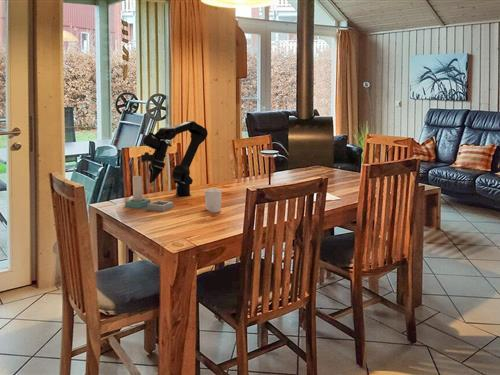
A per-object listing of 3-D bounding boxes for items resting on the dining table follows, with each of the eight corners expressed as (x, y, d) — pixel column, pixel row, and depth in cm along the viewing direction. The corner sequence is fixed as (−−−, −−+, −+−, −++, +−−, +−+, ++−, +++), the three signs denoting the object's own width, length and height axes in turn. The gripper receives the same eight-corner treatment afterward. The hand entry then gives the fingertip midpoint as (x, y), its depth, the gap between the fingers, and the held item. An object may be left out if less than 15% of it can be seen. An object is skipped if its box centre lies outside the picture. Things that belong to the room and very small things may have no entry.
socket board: (175, 208, 246) (175, 201, 245) (162, 214, 236) (162, 206, 235) (137, 204, 254) (136, 197, 254) (122, 209, 245) (122, 201, 244)
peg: (143, 204, 250) (142, 175, 247) (141, 206, 245) (141, 177, 243) (134, 204, 250) (133, 175, 247) (132, 206, 245) (131, 177, 243)
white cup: (215, 213, 237) (215, 192, 235) (201, 211, 241) (201, 190, 239) (225, 210, 244) (225, 189, 242) (211, 208, 248) (211, 187, 246)
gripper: (142, 150, 265) (134, 179, 262) (146, 144, 247) (137, 175, 245) (163, 156, 268) (155, 185, 265) (168, 151, 250) (159, 182, 248)
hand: (151, 182), depth 256 cm, fingers open, 9 cm apart
